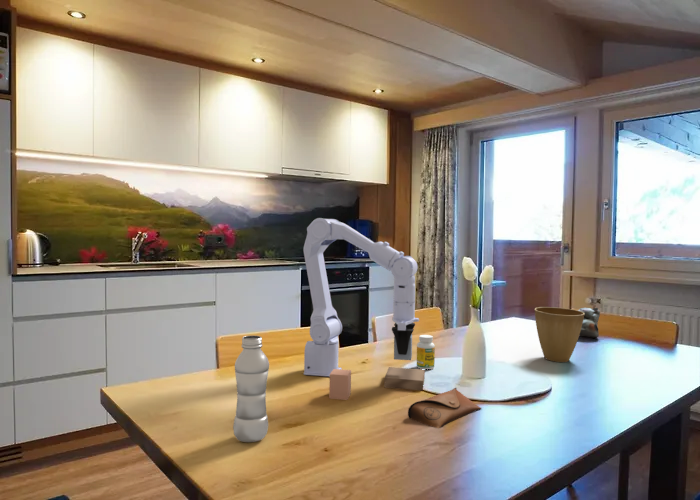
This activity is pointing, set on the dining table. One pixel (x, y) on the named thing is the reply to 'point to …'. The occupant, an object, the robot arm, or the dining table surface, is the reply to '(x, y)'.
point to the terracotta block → (340, 384)
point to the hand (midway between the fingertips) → (403, 351)
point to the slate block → (403, 357)
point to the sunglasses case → (441, 408)
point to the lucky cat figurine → (590, 322)
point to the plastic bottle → (251, 391)
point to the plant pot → (558, 331)
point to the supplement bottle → (425, 352)
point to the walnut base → (404, 378)
